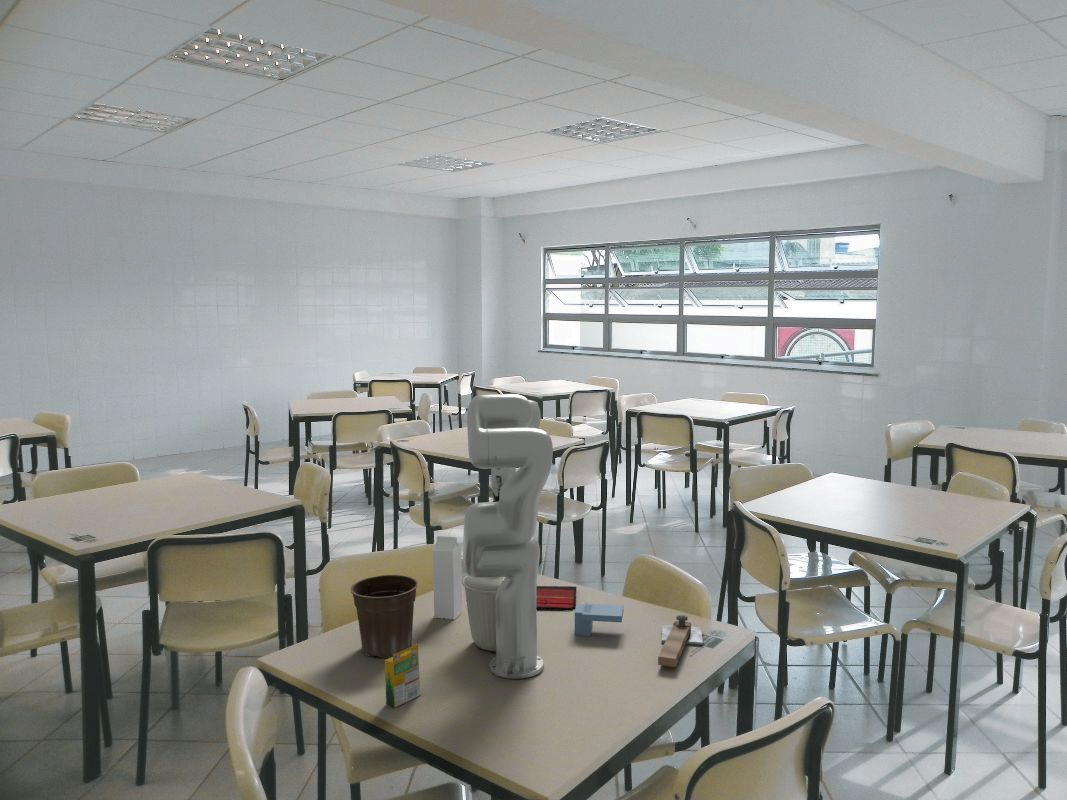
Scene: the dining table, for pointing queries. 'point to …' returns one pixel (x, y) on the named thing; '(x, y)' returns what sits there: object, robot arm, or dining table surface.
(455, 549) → the milk
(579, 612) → the block
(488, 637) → the canister
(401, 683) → the crayon box
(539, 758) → the dining table surface
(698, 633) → the pintle base
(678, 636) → the latch bar
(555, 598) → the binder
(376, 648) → the plant pot
